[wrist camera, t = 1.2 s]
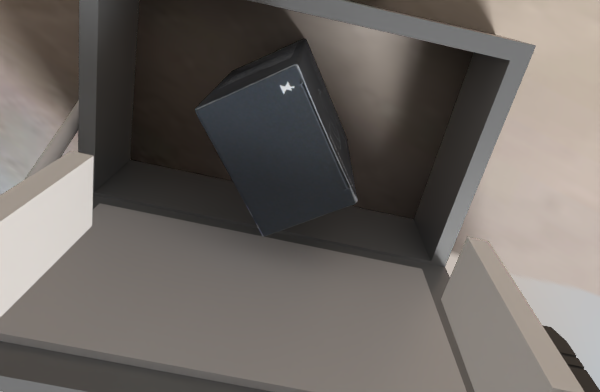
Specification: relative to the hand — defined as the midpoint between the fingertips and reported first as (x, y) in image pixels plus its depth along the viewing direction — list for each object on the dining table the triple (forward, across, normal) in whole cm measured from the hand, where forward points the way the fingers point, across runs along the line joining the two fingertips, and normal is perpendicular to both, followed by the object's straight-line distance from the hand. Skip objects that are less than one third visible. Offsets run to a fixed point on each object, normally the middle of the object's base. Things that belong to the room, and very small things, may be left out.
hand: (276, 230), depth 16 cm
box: (+18, -1, 0) cm, 18 cm away
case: (+18, -1, 0) cm, 18 cm away
